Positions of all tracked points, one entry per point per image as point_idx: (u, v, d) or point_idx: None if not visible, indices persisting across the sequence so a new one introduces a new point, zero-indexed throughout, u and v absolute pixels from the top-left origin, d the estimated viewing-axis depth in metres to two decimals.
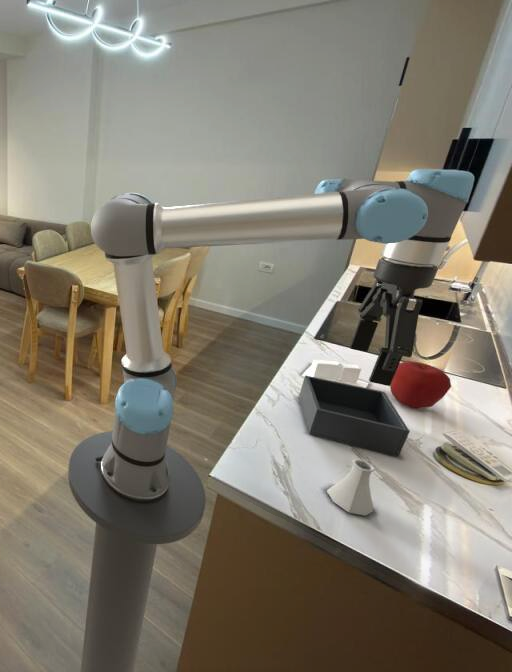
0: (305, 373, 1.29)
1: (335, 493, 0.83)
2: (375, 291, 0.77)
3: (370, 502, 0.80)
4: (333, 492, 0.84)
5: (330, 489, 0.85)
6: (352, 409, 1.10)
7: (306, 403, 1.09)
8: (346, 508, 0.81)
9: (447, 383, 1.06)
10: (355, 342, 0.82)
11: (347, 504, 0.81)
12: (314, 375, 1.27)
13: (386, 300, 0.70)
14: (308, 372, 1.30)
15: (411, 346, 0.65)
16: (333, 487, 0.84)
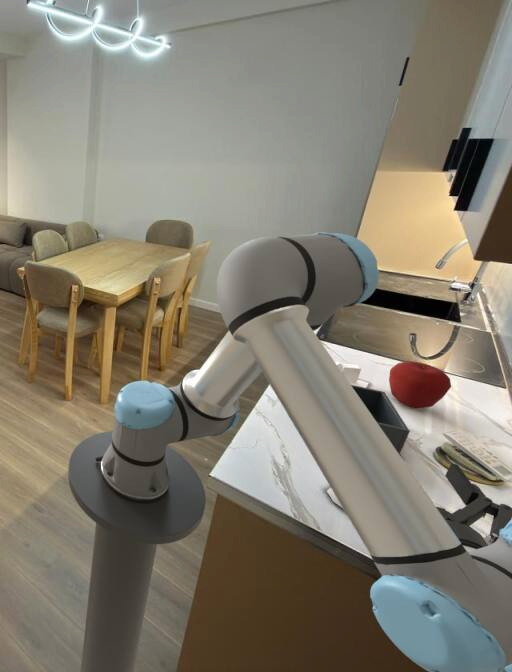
0: None
1: None
2: (494, 529, 0.55)
3: None
4: (333, 492, 0.84)
5: (330, 489, 0.85)
6: None
7: None
8: None
9: (447, 383, 1.06)
10: (454, 471, 0.64)
11: None
12: None
13: None
14: None
15: None
16: None
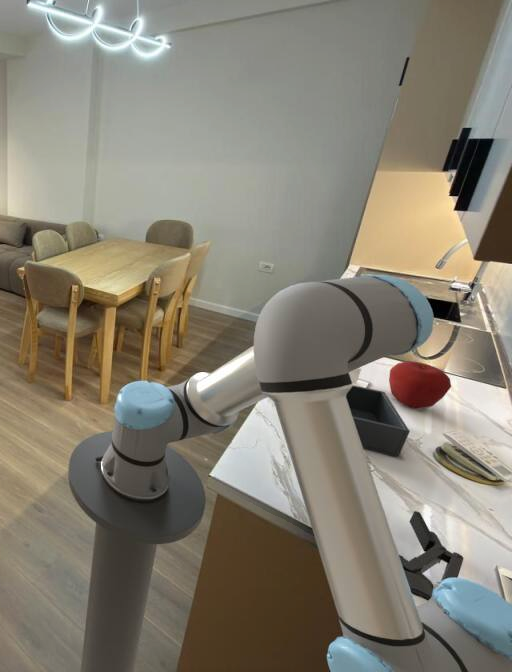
0: None
1: None
2: (444, 576, 0.62)
3: None
4: None
5: None
6: (352, 409, 1.10)
7: None
8: None
9: (447, 383, 1.06)
10: (417, 518, 0.72)
11: None
12: None
13: None
14: None
15: None
16: None
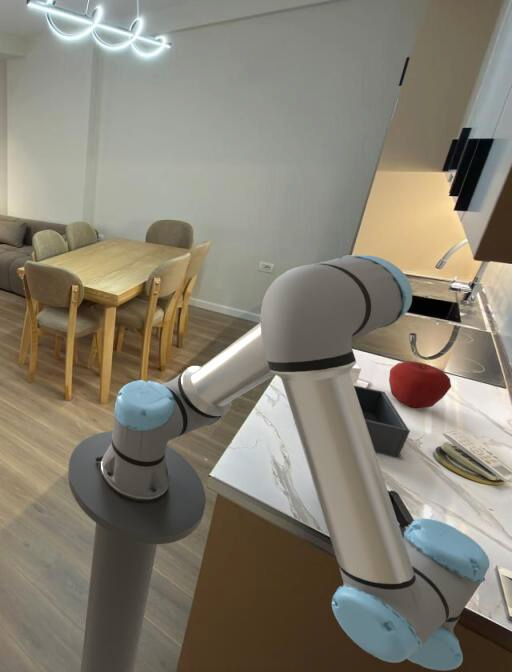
0: None
1: None
2: (404, 519, 0.72)
3: None
4: None
5: None
6: None
7: None
8: None
9: (447, 383, 1.06)
10: None
11: None
12: None
13: None
14: None
15: None
16: None
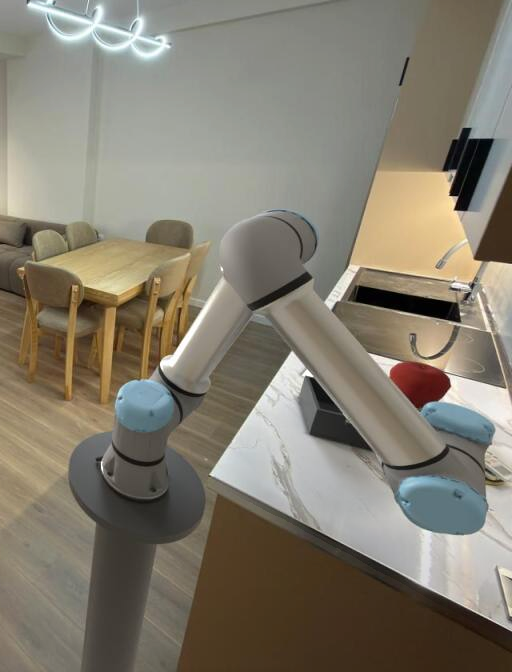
0: (305, 373, 1.29)
1: None
2: None
3: None
4: None
5: None
6: None
7: (306, 403, 1.09)
8: None
9: (447, 383, 1.06)
10: None
11: None
12: None
13: None
14: (308, 372, 1.30)
15: None
16: None
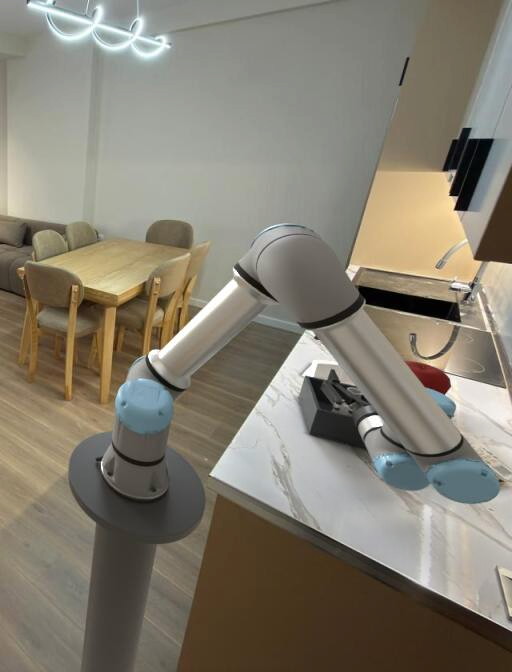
0: (305, 373, 1.29)
1: None
2: None
3: None
4: None
5: None
6: None
7: (306, 403, 1.09)
8: None
9: (447, 383, 1.06)
10: None
11: None
12: (314, 375, 1.27)
13: (359, 402, 0.93)
14: (308, 372, 1.30)
15: (323, 391, 1.02)
16: None
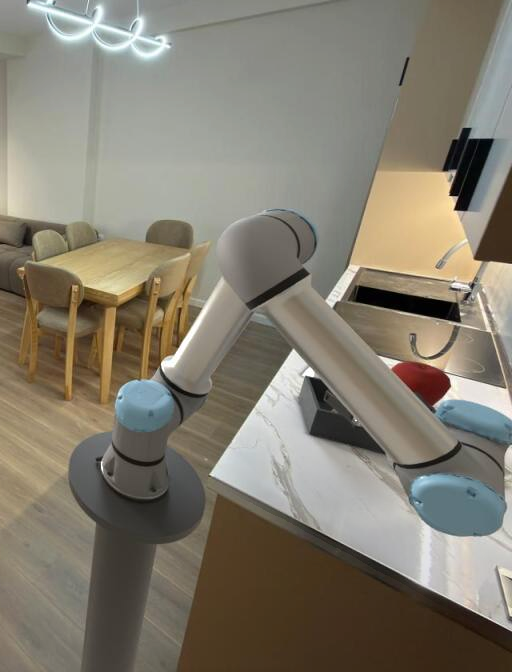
0: (305, 373, 1.29)
1: None
2: None
3: None
4: None
5: None
6: None
7: (306, 403, 1.09)
8: None
9: (447, 383, 1.06)
10: (416, 396, 0.83)
11: None
12: (314, 375, 1.27)
13: None
14: (308, 372, 1.30)
15: (328, 403, 0.85)
16: None
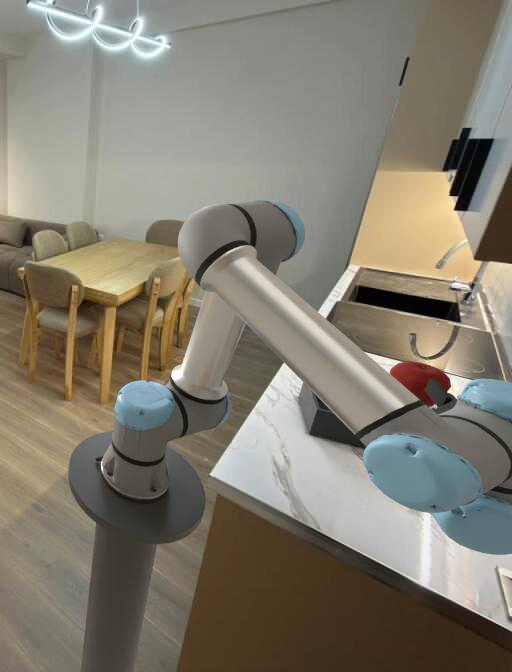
0: None
1: None
2: None
3: None
4: None
5: None
6: None
7: (306, 403, 1.09)
8: None
9: (447, 383, 1.06)
10: (432, 383, 0.70)
11: None
12: None
13: None
14: None
15: None
16: None
